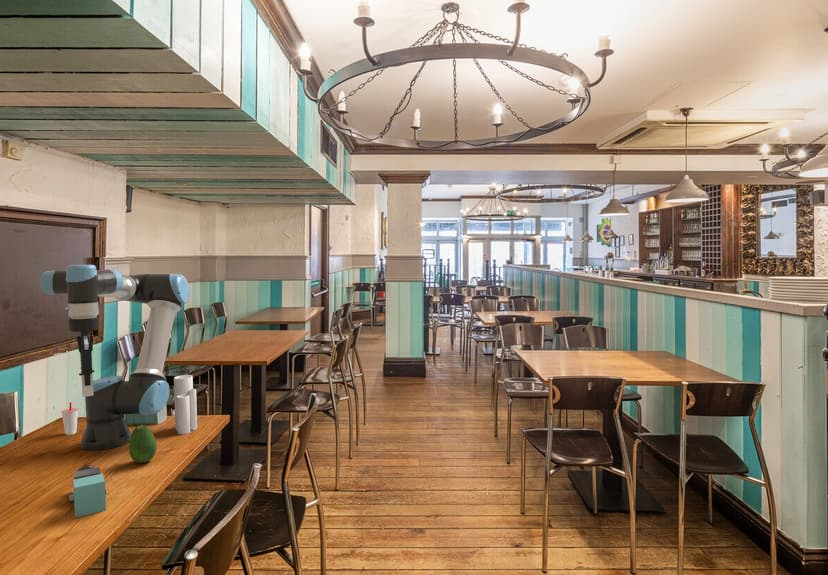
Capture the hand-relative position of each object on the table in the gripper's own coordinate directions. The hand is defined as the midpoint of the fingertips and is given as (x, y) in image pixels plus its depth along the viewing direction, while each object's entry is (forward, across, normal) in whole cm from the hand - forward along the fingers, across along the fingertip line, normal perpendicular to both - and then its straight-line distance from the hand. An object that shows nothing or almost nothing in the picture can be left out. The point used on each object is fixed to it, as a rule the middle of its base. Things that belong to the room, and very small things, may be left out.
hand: (88, 395), depth 151 cm
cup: (+26, -50, -4) cm, 57 cm away
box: (+26, -49, +22) cm, 60 cm away
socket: (+24, +25, -2) cm, 35 cm away
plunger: (+23, +18, -2) cm, 29 cm away
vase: (+26, -29, +32) cm, 51 cm away
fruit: (+25, -2, +14) cm, 29 cm away
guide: (+24, +15, -2) cm, 29 cm away
